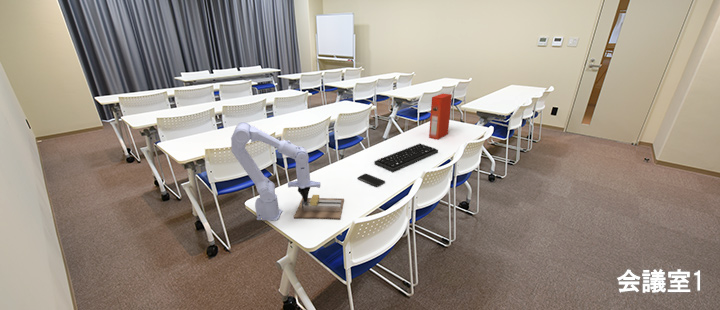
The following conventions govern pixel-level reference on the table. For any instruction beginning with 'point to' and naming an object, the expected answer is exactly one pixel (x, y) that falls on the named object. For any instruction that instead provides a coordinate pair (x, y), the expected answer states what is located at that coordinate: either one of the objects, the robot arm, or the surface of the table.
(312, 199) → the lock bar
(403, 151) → the computer keyboard
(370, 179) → the phone
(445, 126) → the file binder
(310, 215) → the walnut board
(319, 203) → the bar
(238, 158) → the robot arm
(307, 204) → the fixed tong arm
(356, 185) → the table surface
